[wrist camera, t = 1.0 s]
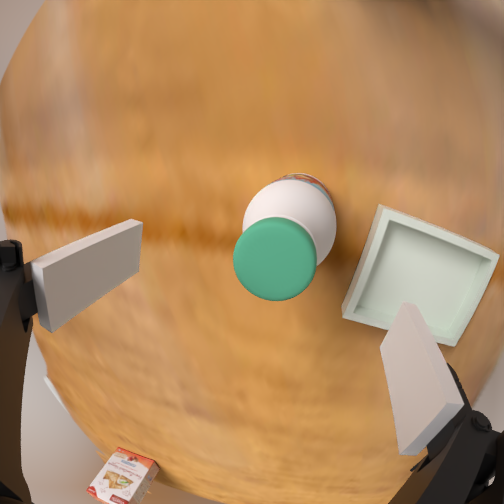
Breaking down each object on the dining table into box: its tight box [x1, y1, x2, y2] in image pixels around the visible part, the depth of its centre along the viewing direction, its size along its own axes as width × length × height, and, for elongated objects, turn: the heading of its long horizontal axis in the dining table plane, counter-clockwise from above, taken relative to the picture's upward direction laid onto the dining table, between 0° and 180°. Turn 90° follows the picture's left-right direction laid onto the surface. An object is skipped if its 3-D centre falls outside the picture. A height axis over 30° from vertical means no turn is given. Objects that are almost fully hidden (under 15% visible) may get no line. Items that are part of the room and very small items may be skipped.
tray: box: [341, 204, 500, 347], centre depth 31 cm, size 14×18×3 cm
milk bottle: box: [233, 173, 336, 301], centre depth 25 cm, size 8×8×20 cm
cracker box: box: [86, 447, 160, 504], centre depth 57 cm, size 14×6×21 cm, turn 95°
